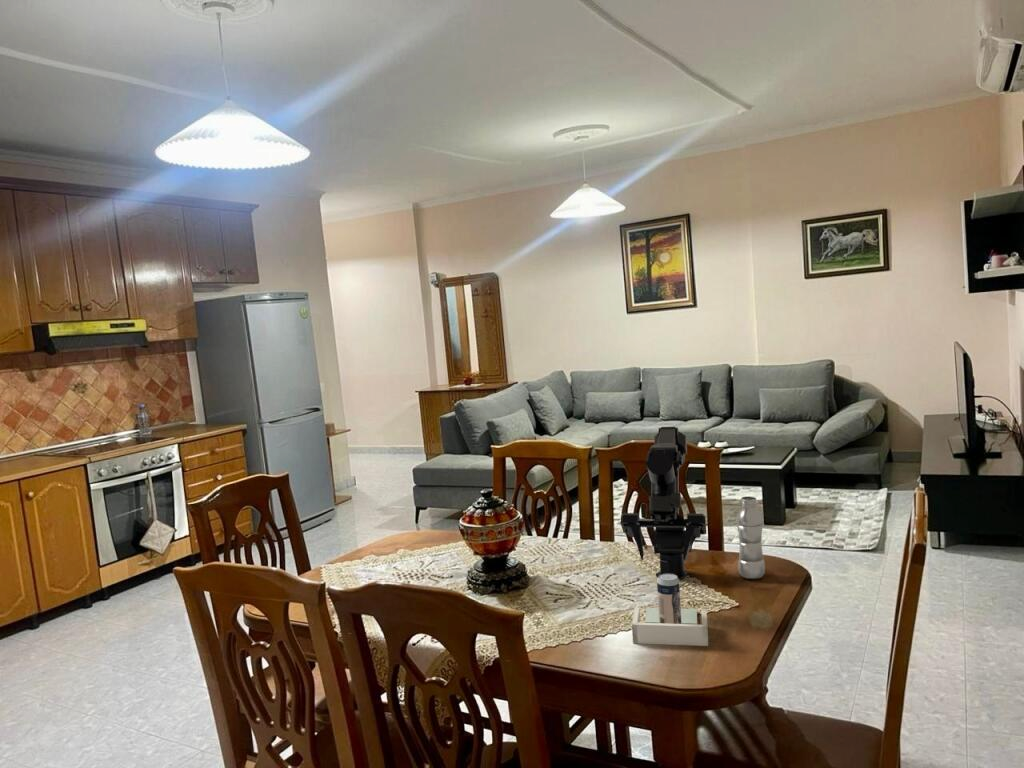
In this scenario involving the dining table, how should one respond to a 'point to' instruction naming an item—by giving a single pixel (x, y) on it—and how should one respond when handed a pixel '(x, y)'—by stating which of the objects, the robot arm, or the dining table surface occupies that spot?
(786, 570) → the dining table surface
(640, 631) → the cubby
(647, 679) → the dining table surface
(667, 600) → the pill bottle
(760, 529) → the plastic bottle
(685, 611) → the mat
